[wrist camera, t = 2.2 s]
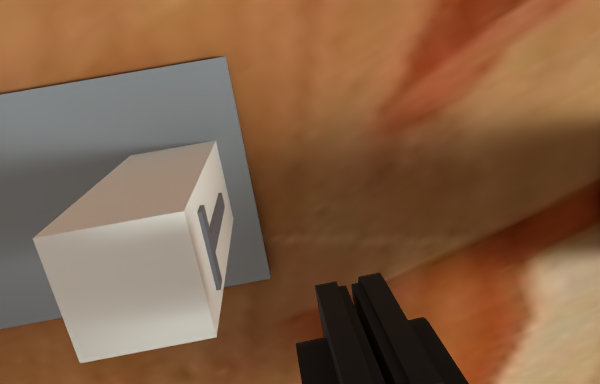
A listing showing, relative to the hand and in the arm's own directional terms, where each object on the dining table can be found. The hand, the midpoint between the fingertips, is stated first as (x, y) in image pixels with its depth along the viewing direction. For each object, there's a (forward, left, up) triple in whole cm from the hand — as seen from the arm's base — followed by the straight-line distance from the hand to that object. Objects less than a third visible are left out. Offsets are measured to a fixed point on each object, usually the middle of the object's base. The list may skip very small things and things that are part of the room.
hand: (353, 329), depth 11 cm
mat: (+12, 0, -17) cm, 21 cm away
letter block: (+7, 0, -17) cm, 18 cm away
